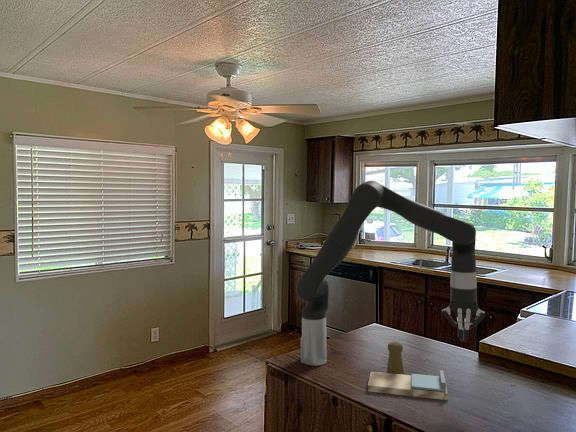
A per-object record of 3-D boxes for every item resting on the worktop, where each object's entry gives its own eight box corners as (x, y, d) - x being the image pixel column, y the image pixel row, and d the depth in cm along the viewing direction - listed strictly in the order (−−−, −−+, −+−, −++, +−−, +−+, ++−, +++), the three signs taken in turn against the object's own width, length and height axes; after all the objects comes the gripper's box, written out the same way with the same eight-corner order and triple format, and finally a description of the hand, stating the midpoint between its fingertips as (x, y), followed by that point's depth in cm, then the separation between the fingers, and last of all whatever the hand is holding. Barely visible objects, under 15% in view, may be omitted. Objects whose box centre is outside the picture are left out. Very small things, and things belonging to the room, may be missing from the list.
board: (367, 391, 135) (367, 385, 135) (371, 377, 145) (370, 371, 145) (447, 400, 128) (447, 393, 128) (444, 384, 139) (444, 378, 139)
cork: (404, 377, 144) (404, 346, 144) (386, 376, 146) (386, 345, 145) (403, 370, 150) (403, 340, 150) (386, 369, 152) (386, 339, 151)
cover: (411, 387, 132) (411, 379, 132) (411, 375, 141) (411, 367, 141) (445, 391, 129) (445, 382, 129) (443, 378, 138) (443, 370, 138)
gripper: (441, 287, 129) (441, 342, 130) (488, 289, 125) (488, 346, 126) (439, 282, 136) (439, 335, 137) (484, 283, 132) (484, 338, 133)
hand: (463, 340), depth 131 cm, fingers closed
